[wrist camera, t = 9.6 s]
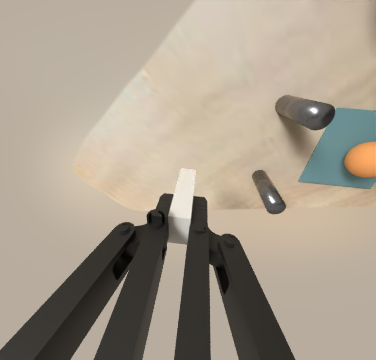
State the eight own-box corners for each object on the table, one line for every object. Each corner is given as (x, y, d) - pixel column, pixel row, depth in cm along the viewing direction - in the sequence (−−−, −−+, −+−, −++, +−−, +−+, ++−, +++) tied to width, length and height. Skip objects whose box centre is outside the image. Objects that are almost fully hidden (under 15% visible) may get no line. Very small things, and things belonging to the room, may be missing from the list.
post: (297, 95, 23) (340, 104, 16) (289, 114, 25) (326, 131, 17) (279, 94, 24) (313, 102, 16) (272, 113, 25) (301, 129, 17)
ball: (418, 154, 20) (361, 142, 22) (385, 189, 23) (338, 176, 25) (401, 142, 24) (354, 134, 26) (375, 174, 27) (335, 164, 29)
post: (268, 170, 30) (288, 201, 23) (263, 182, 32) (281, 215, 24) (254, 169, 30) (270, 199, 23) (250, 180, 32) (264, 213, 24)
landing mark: (429, 115, 23) (431, 115, 23) (368, 188, 30) (369, 188, 30) (336, 107, 24) (337, 107, 24) (298, 180, 31) (298, 181, 31)
